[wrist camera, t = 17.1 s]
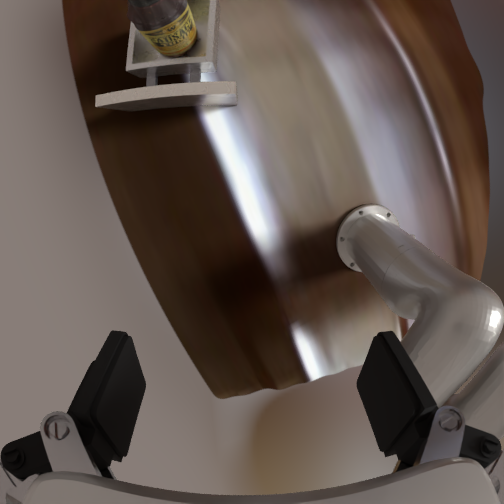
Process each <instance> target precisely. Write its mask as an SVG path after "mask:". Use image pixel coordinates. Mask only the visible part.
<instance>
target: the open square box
mask: <svg viewBox="0 0 504 504" xmlns="http://www.w3.org/2000/svg"><path fill="white" fill-rule="evenodd" d="M186 1H187V3H188V5H189V8H190V10H191V13H192V16H193V19H194V22H195V26H196V28H197V33H198V35H197V42H196V44H195V45H194V47H193V48H192V49H191V50H190V51H189V52H188V53H187V54H184V55H182V56H178V57H168V56H164V55H162V54H161V53H159V52H158V51H157V50H156V49H155V48H154V47H153V46H152V45H151V44H150V43H149V42H148V40H147V39H146V38H145V37H144V36H143V35H142V34H141V33H140V32H139V31H138V30H137V29H136V27H135V26H134V24H133V23H132V21H131V27H130V34H129V43H128V52H127V63H126V71H127V72H129V73H131V74H133V75H135V76H138V77H140V78H147V83H146V87H141V88H134V89H128V90H122V91H116V92H111V93H106V94H101V95H96V104H95V107H100V108H108V109H116V110H123V111H129V112H132V111H140V110H149V109H159V108H171V107H186V106H213V105H237V103H238V95H237V87H236V82H235V81H226V82H200V79H201V73H205V72H217V56H218V38H219V22H220V4H219V0H186ZM187 73H190V83H179V84H167V85H157V82H158V76H164V75H175V74H187Z"/></svg>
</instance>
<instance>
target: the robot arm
mask: <svg viewBox="0 0 504 504" xmlns="http://www.w3.org/2000/svg"><path fill="white" fill-rule="evenodd" d="M359 211H360V213H359ZM341 237H342V238H341ZM340 238H341V239H340ZM336 247H337V252H338V254H339V256H340V258H341V260H342V261H343V262H344V263H345V264H346V266H348V267H349V268H351V269H353V270H355V271H359V272H363V273H364V275H365V276H366V277H367V279H368V280H369V281H370V283H371V284H372V285H373V287H374V288H375V289H376V290H377V292H378V293H379V294H380V296H381V297H382V299H383V300H384V301H385V303H386V304H387V305H388V307H389V308H390V309H391V310H392V311H393V312H394V313H395V314H397V315H398V316H401V317H403V318H407V319H414V320H415V321H414V323H413V324H412V326H411V327H410V329H409V330H408V332H407V334H406V335H405V336H404V338H403V339H402V340H401V342H400V341H399V339H398V338H397V336H396V335H395V333H394V332H393V331H386V332H379V333H378V334H377V336H375V337H374V338H373V341H372V343H371V346H370V349H369V352H368V354H367V357H366V360H365V362H364V365H363V367H362V370H361V372H360V375H359V377H358V379H357V389H358V392H359V394H360V397H361V400H362V402H363V405H364V408H365V410H366V413H367V416H368V418H369V421H370V424H371V427H372V429H373V432H374V435H375V438H376V441H377V444H378V447H379V449H380V451H382V452H384V454H385V457H387V456H391V455H394V454H397V457H398V461H397V463H396V466H395V468H394V470H393V472H392V473H391V474H388V475H384V476H380V477H377V478H373V479H369V480H365V481H361V482H357V483H353V484H348V485H343V486H338V487H333V488H327V489H320V490H314V491H306V492H297V493H287V494H274V495H244V496H243V495H211V494H197V493H187V492H178V491H172V490H164V489H159V488H153V487H147V486H141V485H136V484H131V483H127V482H123V481H118V480H117V479H116V477H115V476H114V474H113V472H112V471H111V469H110V467H109V466H110V464H111V461H112V460H114V461H118V462H121V461H122V458H123V456H124V457H126V456H127V453H128V450H129V446H130V442H131V438H132V435H133V431H134V427H135V424H136V420H137V416H138V413H139V409H140V406H141V402H142V399H143V396H144V392H145V388H146V382H145V379H144V376H143V373H142V370H141V366H140V363H139V360H138V357H137V354H136V350H135V347H134V343H133V340H132V337H131V336H128V334H127V333H126V332H121V331H111V332H110V334H109V336H108V338H107V340H106V341H105V343H104V345H103V347H102V349H101V351H100V352H99V354H98V356H97V358H96V360H95V361H93V362H92V363H91V365H90V366H89V368H88V370H87V372H86V374H85V376H84V379H83V380H82V382H81V384H80V386H79V388H78V390H77V392H76V395H75V397H74V399H73V401H72V403H71V405H70V407H69V409H68V412H67V413H64V412H59V411H56V412H52V413H50V414H48V415H47V416H46V417H44V419H43V420H42V422H41V426H40V431H39V432H36V433H34V434H31V435H28V436H26V437H23V438H21V439H18V440H15V441H12V442H10V443H8V444H6V445H5V446H4V447H3V449H2V451H1V460H0V504H504V450H501V444H500V441H499V440H500V439H501V438H502V437H504V342H503V343H501V345H500V346H499V347H498V348H497V349H496V350H495V352H494V353H493V354H492V355H491V356H490V358H489V359H488V360H487V361H486V363H485V364H484V365H483V367H482V368H481V369H480V370H479V371H478V373H477V374H476V375H475V376H474V377H473V378H472V380H471V381H470V382H469V383H468V384H467V385H466V386H465V388H463V390H462V391H461V392H460V393H458V394H454V393H455V392H456V391H457V390H458V389H459V388H460V386H462V384H463V383H464V382H466V381H467V379H468V378H469V377H470V376H471V375H472V374H473V372H474V371H475V370H476V369H477V367H478V366H479V365H480V364H481V362H482V361H483V360H484V359H485V357H486V356H487V355H488V353H489V352H490V351H491V349H492V348H493V346H494V344H495V343H496V341H497V338H498V337H499V335H500V332H501V330H502V327H503V323H504V307H503V304H502V302H501V300H500V298H499V297H498V296H497V294H496V293H495V292H494V291H493V290H492V289H490V288H489V287H487V286H486V285H485V284H483V283H482V282H480V281H478V280H476V279H474V278H472V277H471V276H469V275H467V274H465V273H463V272H461V271H460V270H458V269H456V268H455V267H453V266H452V265H450V264H449V263H447V262H446V261H444V260H443V259H442V258H440V257H439V256H438V255H436V254H435V253H434V252H432V251H431V250H430V249H428V248H427V247H426V246H424V245H423V244H422V243H420V242H419V241H418V240H416V239H415V236H414V235H409V234H408V233H407V232H405V231H404V230H402V229H401V228H400V226H399V223H398V220H397V218H396V216H395V215H394V214H393V213H392V212H391V211H390V210H388V209H387V208H385V207H384V206H381V205H378V204H366V205H362V206H360V207H358V208H356V209H354V210H353V211H351V212H350V213H349V214H348V215H347V216H346V217H345V218H344V220H343V221H342V223H341V225H340V227H339V230H338V232H337V237H336Z"/></svg>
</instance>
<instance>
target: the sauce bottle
mask: <svg viewBox="0 0 504 504" xmlns="http://www.w3.org/2000/svg"><path fill="white" fill-rule="evenodd" d="M127 4H128V12H127V17H128V18H129V19H130V20H131V21H132V23H133V24H134V26H135V27H136V29H137V30H138V31H139V32H140V33H141V34H142V35H143V36H144V37H145V38H146V39H147V40H148V42H149V43H150V44H151V45H152V46H153V47H154V48H155V49H156V50H157V51H158V52H159V53H161V54H162V55H164V56H168V57H178V56H182V55H184V54H187V53H188V52H189V51H190V50H191V49H192V48H193V47H194V45H195V44H196V42H197V35H198V33H197V28H196V26H195V22H194V19H193V16H192V13H191V10H190V8H189V5H188V3H187V1H186V0H128V3H127Z"/></svg>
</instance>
